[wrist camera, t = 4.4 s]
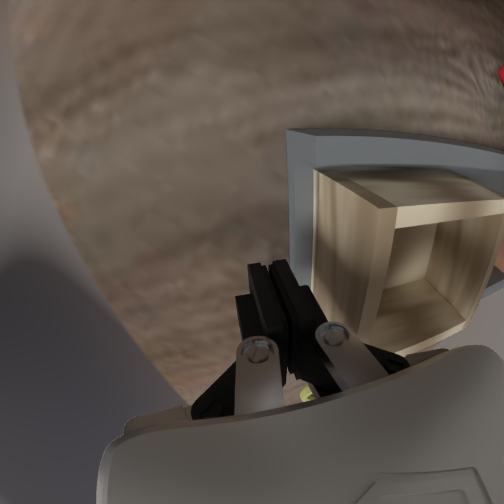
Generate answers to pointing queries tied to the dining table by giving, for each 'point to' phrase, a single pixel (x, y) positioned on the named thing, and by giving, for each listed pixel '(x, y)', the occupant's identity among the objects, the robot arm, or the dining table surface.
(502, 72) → the toy figure
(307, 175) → the rail bay
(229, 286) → the dining table surface
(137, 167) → the dining table surface
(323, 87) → the dining table surface
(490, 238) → the crate
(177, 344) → the dining table surface
